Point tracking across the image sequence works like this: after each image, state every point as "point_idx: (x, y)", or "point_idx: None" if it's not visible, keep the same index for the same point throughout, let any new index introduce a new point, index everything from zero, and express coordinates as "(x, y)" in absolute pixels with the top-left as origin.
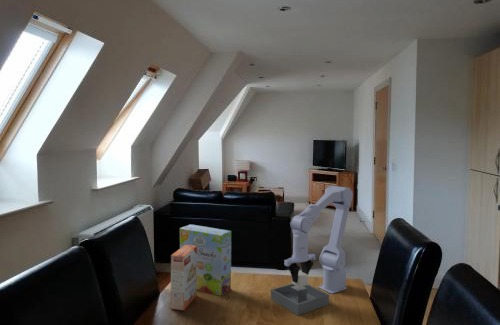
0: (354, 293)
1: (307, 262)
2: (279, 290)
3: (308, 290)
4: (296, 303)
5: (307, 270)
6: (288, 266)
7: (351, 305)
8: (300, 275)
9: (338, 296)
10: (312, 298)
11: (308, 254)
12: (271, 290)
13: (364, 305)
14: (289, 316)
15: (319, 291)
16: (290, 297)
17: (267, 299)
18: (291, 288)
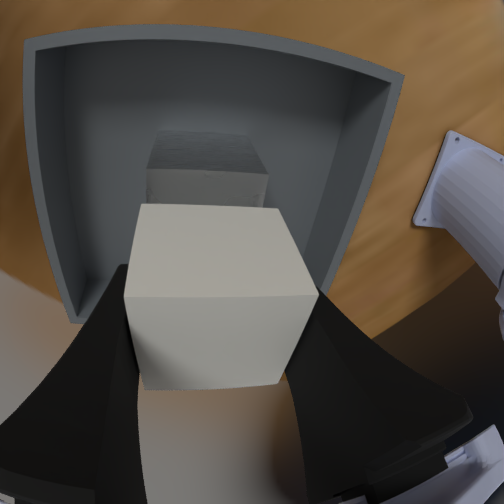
0: (448, 264)
1: (333, 497)
2: (117, 40)
3: (345, 155)
4: (71, 311)
5: (298, 412)
6: (12, 441)
7: (349, 318)
8: (187, 375)
9: (401, 250)
10: (289, 209)
11: (482, 499)
12: (27, 46)
13: (372, 331)
14: (44, 266)
15: (326, 268)
16: (157, 134)
17: (41, 29)
18: (147, 176)
